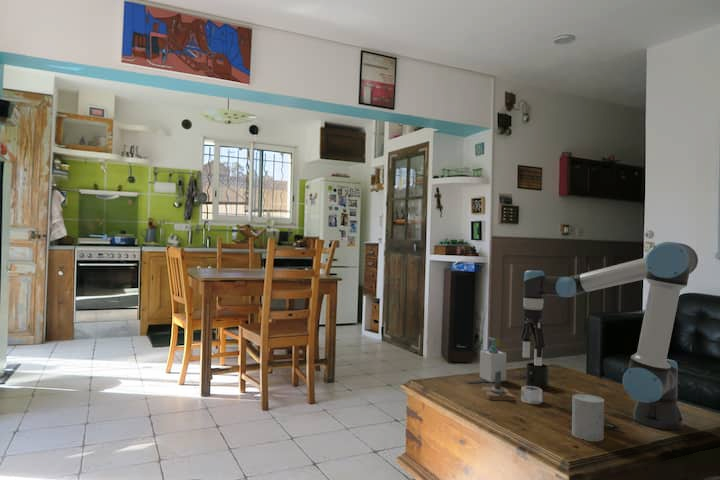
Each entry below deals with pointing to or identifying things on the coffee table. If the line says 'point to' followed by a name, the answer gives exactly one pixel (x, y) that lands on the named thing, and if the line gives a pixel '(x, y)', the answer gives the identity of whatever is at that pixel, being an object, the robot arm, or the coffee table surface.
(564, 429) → the coffee table surface
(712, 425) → the coffee table surface
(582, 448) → the coffee table surface
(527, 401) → the ring
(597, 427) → the white cylinder
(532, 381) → the mug
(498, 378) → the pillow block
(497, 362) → the soap bottle
